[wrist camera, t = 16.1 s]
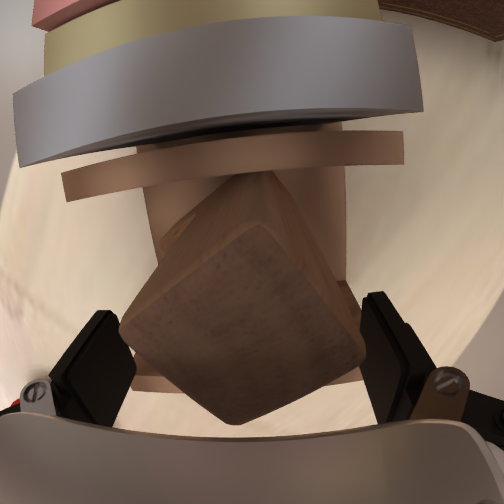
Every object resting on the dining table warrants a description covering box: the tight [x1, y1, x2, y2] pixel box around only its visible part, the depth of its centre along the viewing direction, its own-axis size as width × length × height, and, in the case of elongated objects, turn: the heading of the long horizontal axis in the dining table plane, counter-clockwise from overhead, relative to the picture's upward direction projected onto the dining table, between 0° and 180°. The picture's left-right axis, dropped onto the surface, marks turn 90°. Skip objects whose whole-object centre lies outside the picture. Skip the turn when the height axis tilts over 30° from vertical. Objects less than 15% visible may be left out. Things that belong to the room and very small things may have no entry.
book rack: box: [13, 0, 424, 393], centre depth 16 cm, size 16×25×16 cm, turn 6°
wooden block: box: [119, 170, 366, 425], centre depth 15 cm, size 9×4×18 cm, turn 128°
